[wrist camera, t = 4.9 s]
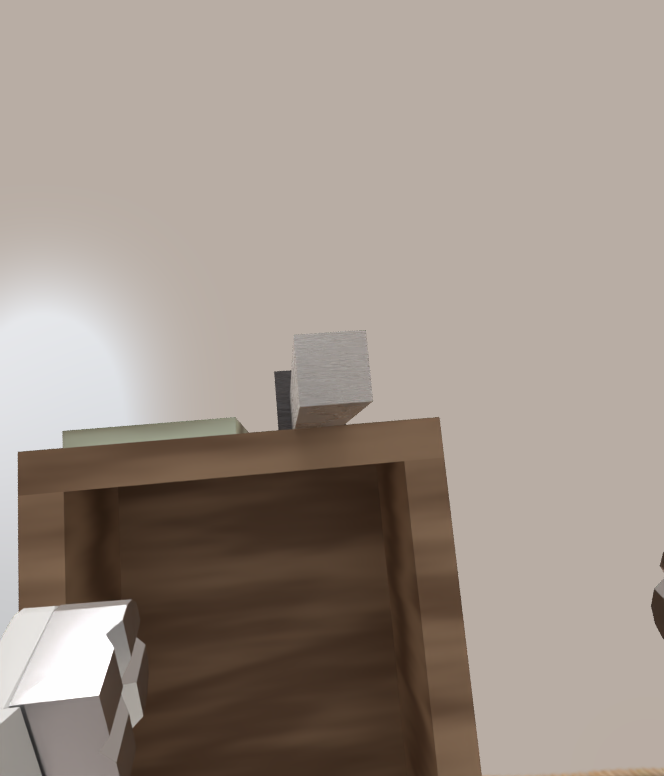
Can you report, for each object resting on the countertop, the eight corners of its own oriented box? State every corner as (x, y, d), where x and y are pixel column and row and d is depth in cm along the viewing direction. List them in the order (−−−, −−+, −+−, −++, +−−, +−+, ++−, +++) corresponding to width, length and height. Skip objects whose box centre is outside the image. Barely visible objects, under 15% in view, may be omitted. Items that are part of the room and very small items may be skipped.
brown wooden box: (510, 1019, 24) (437, 401, 27) (21, 1114, 22) (17, 434, 26) (443, 858, 33) (397, 420, 37) (103, 914, 32) (91, 445, 35)
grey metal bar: (396, 399, 18) (384, 282, 19) (275, 408, 18) (266, 289, 18) (336, 438, 39) (331, 382, 39) (280, 443, 38) (275, 387, 39)
